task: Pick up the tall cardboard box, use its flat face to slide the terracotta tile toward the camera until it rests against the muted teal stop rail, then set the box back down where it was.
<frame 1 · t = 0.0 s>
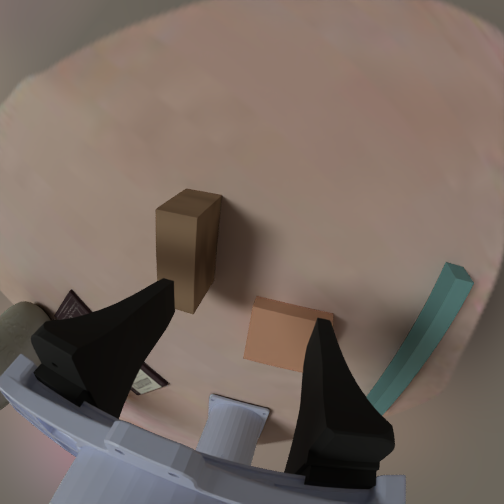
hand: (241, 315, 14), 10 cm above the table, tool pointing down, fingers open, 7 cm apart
tall cardboard box: (201, 236, 25), on the table
olive grey vase: (44, 315, 39), on the table
stop rail: (408, 349, 25), on the table
tile: (287, 329, 28), on the table
chocolate bar: (108, 345, 37), on the table
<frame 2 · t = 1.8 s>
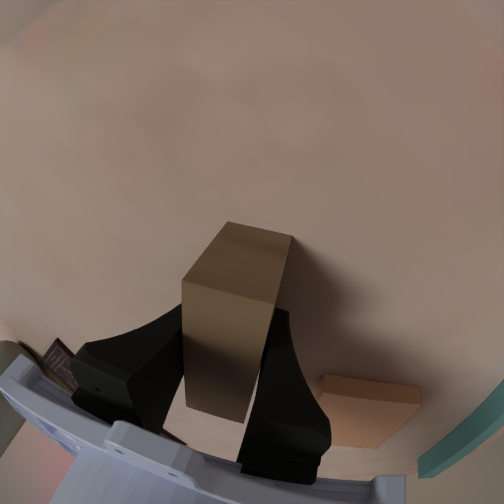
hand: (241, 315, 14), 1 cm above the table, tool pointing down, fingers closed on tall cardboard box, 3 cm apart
tall cardboard box: (247, 298, 15), on the table, touching gripper
olive grey vase: (30, 355, 29), on the table
stop rail: (483, 408, 16), on the table
tile: (355, 403, 18), on the table
chocolate bar: (109, 398, 28), on the table
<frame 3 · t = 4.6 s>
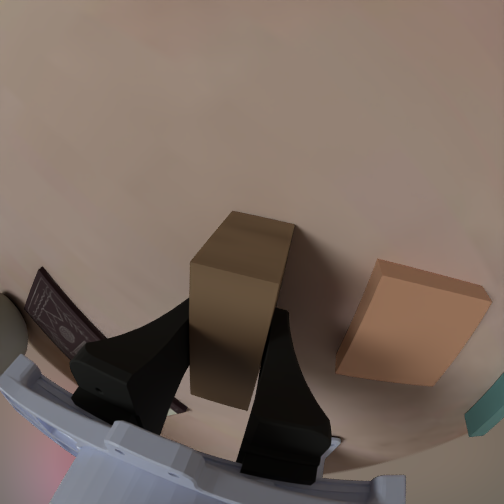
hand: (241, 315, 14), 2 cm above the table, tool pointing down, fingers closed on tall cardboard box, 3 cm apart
tall cardboard box: (251, 286, 16), on the table, touching gripper
olive grey vase: (15, 309, 26), on the table
tile: (408, 319, 15), on the table
chocolate bar: (98, 352, 25), on the table
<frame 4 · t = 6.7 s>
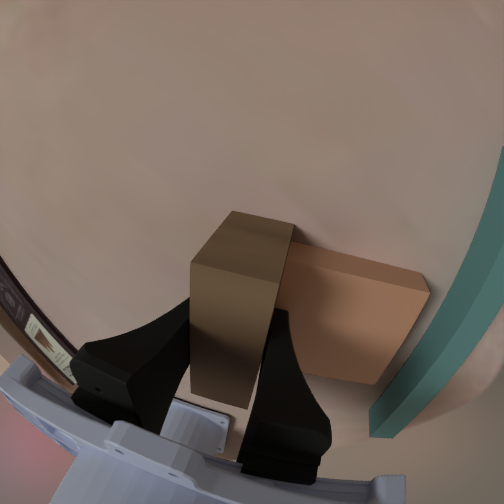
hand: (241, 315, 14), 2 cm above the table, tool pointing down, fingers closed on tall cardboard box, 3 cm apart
tall cardboard box: (251, 286, 16), on the table, touching gripper
stop rail: (448, 318, 14), on the table
tile: (339, 310, 16), on the table
chocolate bar: (34, 317, 26), on the table
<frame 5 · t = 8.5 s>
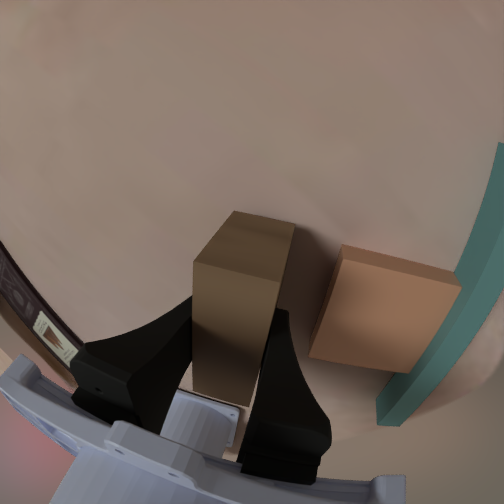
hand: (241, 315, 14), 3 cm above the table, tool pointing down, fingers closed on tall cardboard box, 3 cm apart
tall cardboard box: (252, 285, 16), point 1 cm above the table, touching gripper
stop rail: (450, 306, 15), on the table
tile: (379, 304, 16), on the table
chocolate bar: (42, 314, 27), on the table
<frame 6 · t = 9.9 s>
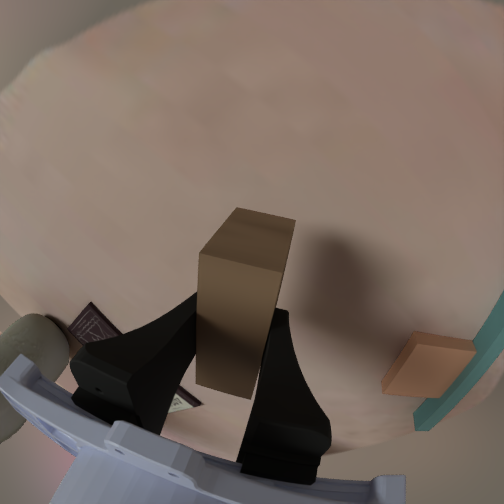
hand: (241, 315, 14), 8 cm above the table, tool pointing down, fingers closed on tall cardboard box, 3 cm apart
tall cardboard box: (254, 280, 16), point 5 cm above the table, touching gripper
olive grey vase: (55, 328, 35), on the table
stop rail: (467, 358, 21), on the table
tile: (426, 359, 23), on the table
chocolate bar: (132, 362, 33), on the table
when the fingers open (2 cm above the table, at t = 11.5 s): tall cardboard box stays where it is, on the table.
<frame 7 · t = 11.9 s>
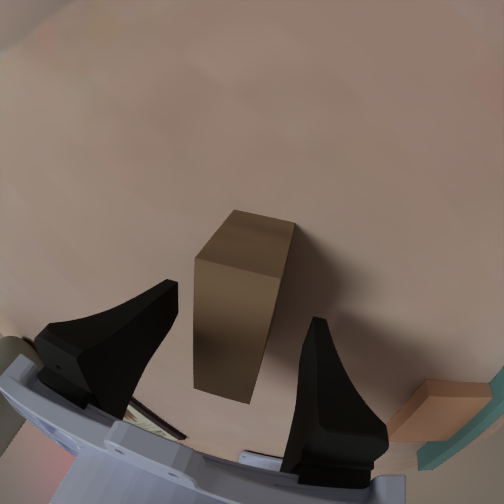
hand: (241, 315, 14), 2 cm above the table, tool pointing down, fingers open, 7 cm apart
tall cardboard box: (253, 282, 16), on the table
olive grey vase: (34, 350, 30), on the table
stop rail: (481, 400, 17), on the table
tile: (436, 403, 18), on the table
chocolate bar: (111, 392, 29), on the table
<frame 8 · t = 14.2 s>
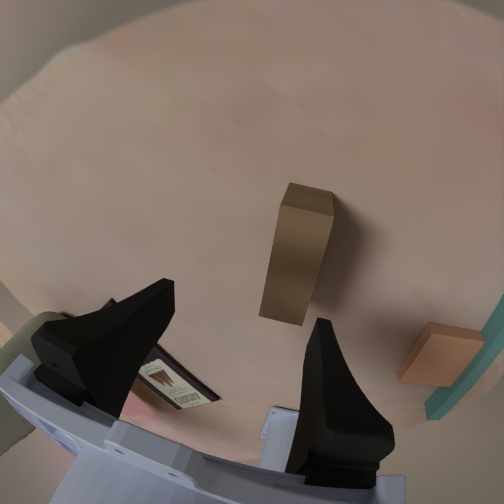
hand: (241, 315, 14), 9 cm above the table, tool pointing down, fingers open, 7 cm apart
tall cardboard box: (299, 237, 22), on the table
olive grey vase: (71, 326, 36), on the table
stop rail: (476, 348, 23), on the table
tile: (438, 349, 24), on the table
chocolate bar: (150, 358, 35), on the table
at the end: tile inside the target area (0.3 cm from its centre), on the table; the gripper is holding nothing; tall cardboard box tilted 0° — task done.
